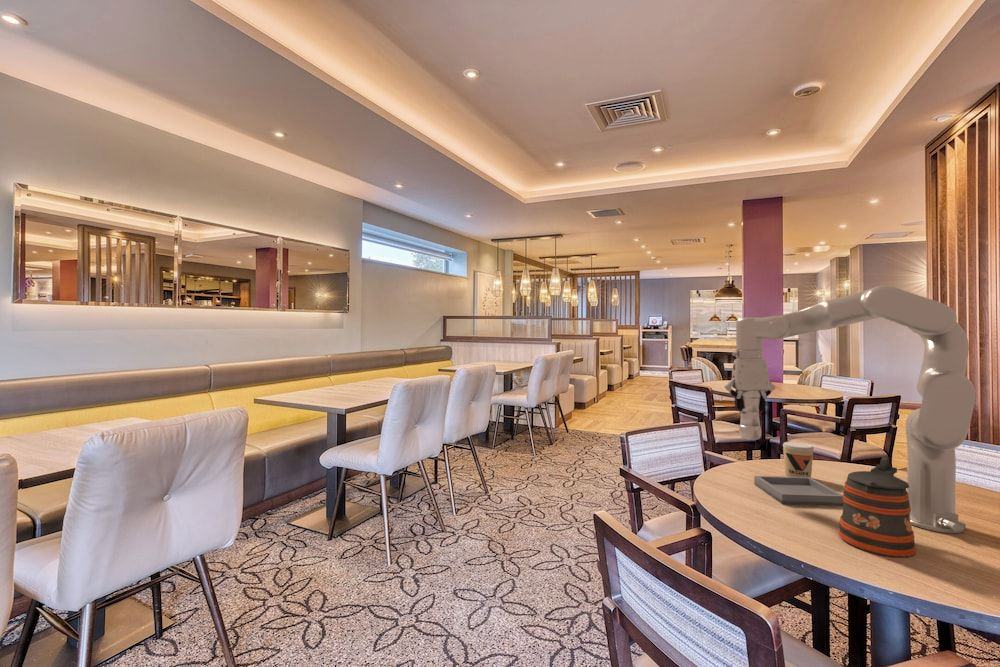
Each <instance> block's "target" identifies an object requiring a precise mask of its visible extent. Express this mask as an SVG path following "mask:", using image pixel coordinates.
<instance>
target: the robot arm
mask: <svg viewBox="0 0 1000 667" xmlns="http://www.w3.org/2000/svg"><path fill="white" fill-rule="evenodd" d="M879 318H884V319H885V320H887V321H888V320H889V321H891V322H894V323H896V324H899V325H901V326H904V327H907V328H908V329H909V330H910V331H911V332H913V333H915V334H918V335H919V337H920V338H921V340H922V342H923V344H924V349H923V350H924V352H923V359H922V364H921V368H920V373H919V374H918V376H919V377H918V378H917V383H916V390H917V392H918V394H919V396H921V398H922V399H921V405H920V408H916V409H914V410H912V411H911V412H910V413H909V414H908V415H907V417H906V420H905V435H906V447H907V448H906V450H907V454H906V455H907V464H906V465H907V470H906V471H907V474H906V475H907V480H906V482H907V483H908V485H909V488H906V491H907V492H908V496H909V503H910V509H911V512H910V519H911V526H914V527H918V528H920V529H924V530H929V531H932V532H938V533H945V534H959V533H963V532H964V531H965V528H967V525H966V523H963V522H962V521H959V514H957V513H956V479H957V478H956V471H957V468H956V466H957V465H956V462H957V461H956V448H959V447H960V446H961V445H962V444H963V443H964V442H965V441H966V438H967V437H968V436H967V435H968V433H969V429H970V425H971V420H972V417H973V412H974V408H975V403H976V396H977V395H976V389H975V386H974V383H972V381H971V380H970V378H968V377H967V376H966V370H967V366H968V361H969V353H970V352H969V350H970V346H969V345H970V344H969V339H968V337H967V336H968V335H967V334H966V332H965V331H964V329H963V327H962V326H961V325H960V324H959V323H958V322H957V321H958V320H957V314H956V312H955V311H954V309H953V308H952V307H950V306H949V305H947V304H945V303H943V302H940V301H937V300H934V299H931V298H927V297H925V296H921V295H918V294H916V293H913V292H910V291H907V290H904V289H901V288H898V287H895V286H891V285H885V284H884V285H877V286H874V287H872V288H869V289H866V290H862V291H858V292H855V293H851V294H847V295H844V296H839V297H836V298H831V299H828V300H825V301H821V302H818V303H816V304H814V305H812V306H809V307H806V308H804V309H800V310H797V311H793V312H789V313H785V314H781V315H771V316H766V317H765V316H764V317H755V316H754V317H753V316H752V317H751V316H750V317H749V316H748V317H746V316H745V317H739V318H738V319H737V320H736V322H735V336H736V337H735V343H736V344H735V345H736V349H735V351H732V353H731V355H732V356H733V357H735V358H736V359H734V361H733V365H732V371H731V372H732V373H731V380H729V381H728V382H727V383H726V384H725V385H724V389H725V390H726V391H727V392H728V393H729V394H730V395H731V396H732V397H733V398H734V407H735V409H736V411H739V412H741V411H742V410H743V406H742V399H741V395H742V393H743V391H752V390H754V391H759V392H760V394H761V398H760V405H759V412H765V409H766V399H767V398H768V396H769V395H771V393H772V392H773V391H774V390H776V388H777V387H776V386H775V385H774V384H773V383H772V382H771V381H770V374H769V370H768V364H767V359H763V358H764V355H763V354H764V353H763V348H764V347H763V343H764V342H763V341H764V339H765V340H775V341H779V340H783V339H786V338H790V337H794V336H798V335H802V334H803V335H804V334H806V333H807V334H808V333H812V332H817V331H826V330H831V329H836V328H840V327H844V326H849V325H854V324H856V323H861V322H865V321H870V320H874V319H879ZM734 389H735V390H734Z"/></svg>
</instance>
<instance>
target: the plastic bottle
mask: <svg viewBox="0 0 1000 667" xmlns="http://www.w3.org/2000/svg"><path fill="white" fill-rule="evenodd" d="M760 398H761V394H760V392H759V391H754V390H752V391H743V393H742V395H741V399H742V406H743V410H742V411H740V422H739V426H738V428H739V429H738V433H739V436H740V437H741V439H745V440H747V441H755V440H757V441H758V440H760V439H761V437H762V432H763V431H762V427H761V423H760V410H759V405H760Z"/></svg>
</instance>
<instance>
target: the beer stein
mask: <svg viewBox="0 0 1000 667" xmlns="http://www.w3.org/2000/svg"><path fill="white" fill-rule="evenodd" d="M896 473H898V468H897V467H893V466H891V465H890V458H889V456H886V455H885V456H884V455H882V457H881V459H880V462H879V464H877V465H876V466H875V467H873V468H871V470H869V471H868V470H867V471H866V470H861V471H853V472H850V473H848V474H847V477H846V480H845V482H844V489H843V493H842V495H843V501H844V505H843V506H842V515H840V517H839V518H840V519H839V525H838V526H839V528H838V536H839V538H840V539H841V540H843V541H844V542H846V543H847V544H848V545H851V546H853V547H854V548H857V549H859V550H861V551H864V552H868V553H871V554H875V555H882V556H887V557H892V558H909V557H912V556H915V555H916V545H915V533H914V530H913V529H912V528H913V527H912V525H911V519H910V512H911V509H910V503H909V496H908V492H907V488H909V485H908V483H907V481H906V480H903V479H902V478H900V477H897V476H895V474H896Z"/></svg>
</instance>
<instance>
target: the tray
mask: <svg viewBox="0 0 1000 667" xmlns="http://www.w3.org/2000/svg"><path fill="white" fill-rule="evenodd" d="M753 478H754V485H755V486H756V487H757V486H758V487H757V488H759V489H760V490H761V491H764V492H765V493H766V494H768V495H769V496H770V497H771V498H772V499H774V500H775V501H777V502H779V504H781V505H797V506H798V505H799V506H824V507H825V506H826V507H827V506H828V507H829V506H830V507H843V505H844V501H843V493H842V494H841V493H840V492H838V491H836V490H834V489H832V488H831V487H829V486H827V485H825V484H823V483H822V482H819V481H818V480H816V479H814V478H812V477H811V478H810V477H786V476H782V475H781V476H780V475H779V476H778V475H777V476H776V475H775V476H773V475H754V476H753Z"/></svg>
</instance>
